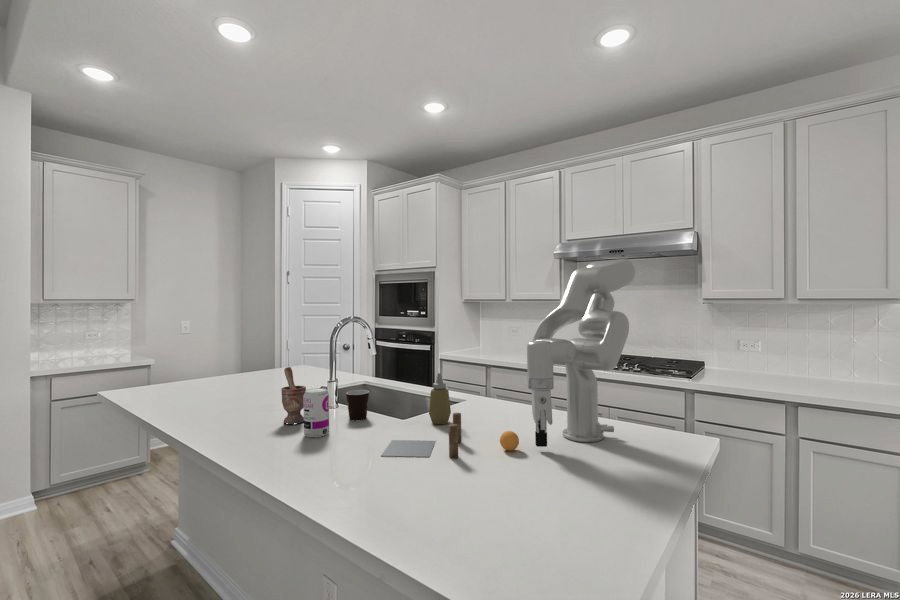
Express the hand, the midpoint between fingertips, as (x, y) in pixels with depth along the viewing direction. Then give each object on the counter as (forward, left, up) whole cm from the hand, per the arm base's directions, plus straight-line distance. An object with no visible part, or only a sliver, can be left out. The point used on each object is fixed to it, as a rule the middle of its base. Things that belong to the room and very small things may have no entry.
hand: (541, 445), depth 128 cm
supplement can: (+73, -12, -2) cm, 74 cm away
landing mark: (+39, 0, -2) cm, 39 cm away
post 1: (+25, -6, -2) cm, 26 cm away
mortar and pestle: (+89, -27, -2) cm, 93 cm away
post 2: (+25, +6, -2) cm, 26 cm away
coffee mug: (+65, -34, -2) cm, 74 cm away
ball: (+9, 0, +1) cm, 9 cm away
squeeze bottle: (+33, -28, -2) cm, 44 cm away
